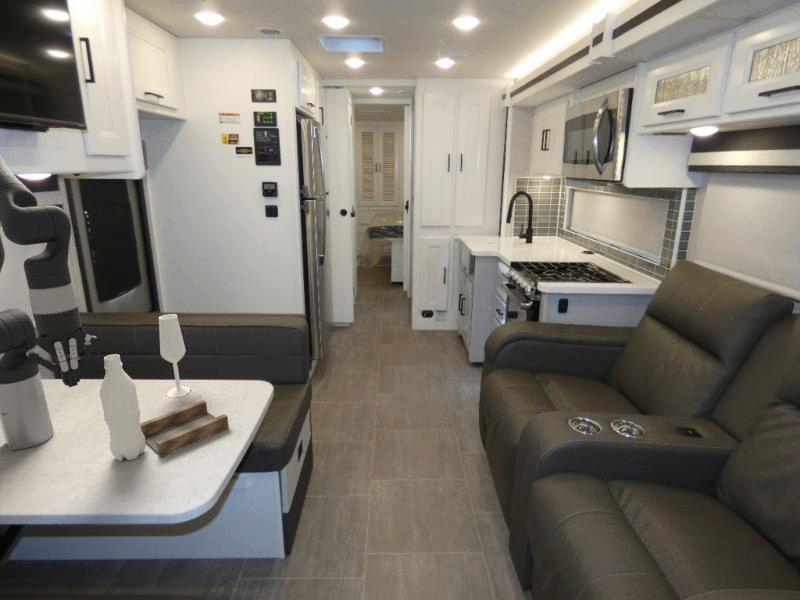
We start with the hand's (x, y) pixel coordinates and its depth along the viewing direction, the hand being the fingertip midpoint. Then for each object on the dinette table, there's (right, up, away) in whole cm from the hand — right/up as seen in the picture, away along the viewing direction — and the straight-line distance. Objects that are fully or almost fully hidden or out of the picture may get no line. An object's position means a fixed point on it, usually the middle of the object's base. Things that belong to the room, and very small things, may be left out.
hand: (72, 385), depth 99 cm
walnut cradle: (+14, -16, +21) cm, 30 cm away
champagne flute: (+3, -10, +43) cm, 44 cm away
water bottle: (+6, -19, +12) cm, 23 cm away
